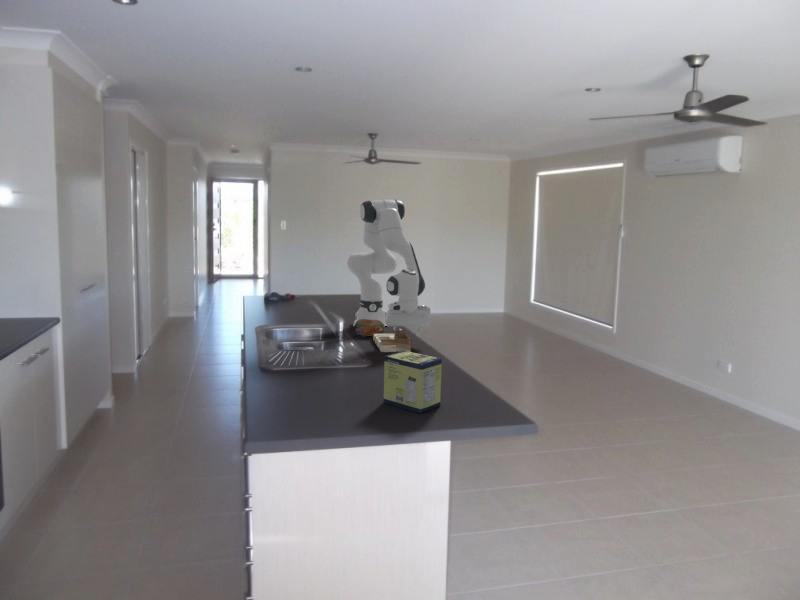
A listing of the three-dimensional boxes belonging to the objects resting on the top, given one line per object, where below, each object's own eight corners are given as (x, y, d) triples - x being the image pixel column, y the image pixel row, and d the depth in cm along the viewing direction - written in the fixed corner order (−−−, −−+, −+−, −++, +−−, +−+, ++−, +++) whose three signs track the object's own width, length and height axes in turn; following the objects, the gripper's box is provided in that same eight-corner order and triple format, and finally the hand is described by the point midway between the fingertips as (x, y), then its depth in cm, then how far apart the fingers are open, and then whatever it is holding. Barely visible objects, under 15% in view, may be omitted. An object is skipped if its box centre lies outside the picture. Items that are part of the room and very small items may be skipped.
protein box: (402, 395, 195) (404, 349, 192) (441, 406, 185) (443, 358, 183) (382, 402, 187) (383, 355, 184) (421, 414, 177) (422, 364, 175)
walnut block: (394, 340, 264) (394, 330, 264) (403, 339, 265) (404, 330, 265) (396, 342, 260) (396, 332, 260) (405, 342, 261) (406, 332, 261)
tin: (354, 335, 287) (354, 318, 285) (356, 334, 290) (356, 317, 288) (383, 338, 282) (383, 321, 281) (385, 337, 285) (385, 320, 284)
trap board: (373, 340, 277) (373, 328, 276) (400, 339, 280) (400, 328, 279) (381, 352, 254) (381, 339, 253) (410, 351, 256) (411, 339, 256)
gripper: (428, 304, 269) (427, 334, 271) (385, 304, 265) (384, 334, 267) (432, 306, 263) (431, 336, 265) (387, 306, 259) (386, 337, 261)
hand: (407, 335), depth 266 cm, fingers open, 8 cm apart
